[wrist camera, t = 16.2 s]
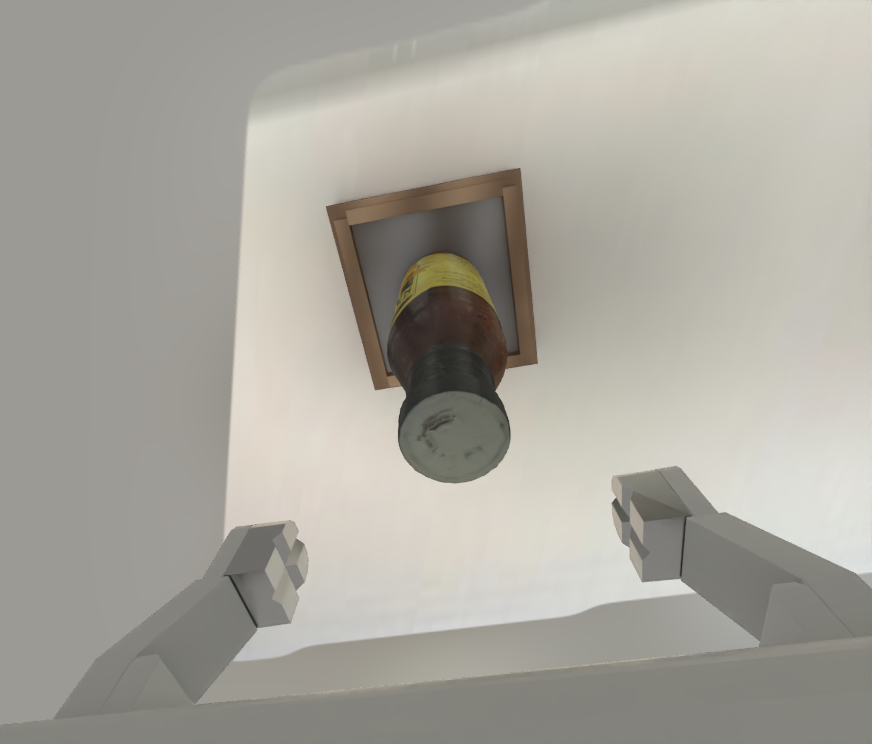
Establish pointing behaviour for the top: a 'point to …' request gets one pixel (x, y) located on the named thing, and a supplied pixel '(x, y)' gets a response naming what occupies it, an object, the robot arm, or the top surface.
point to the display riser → (437, 232)
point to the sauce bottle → (449, 370)
